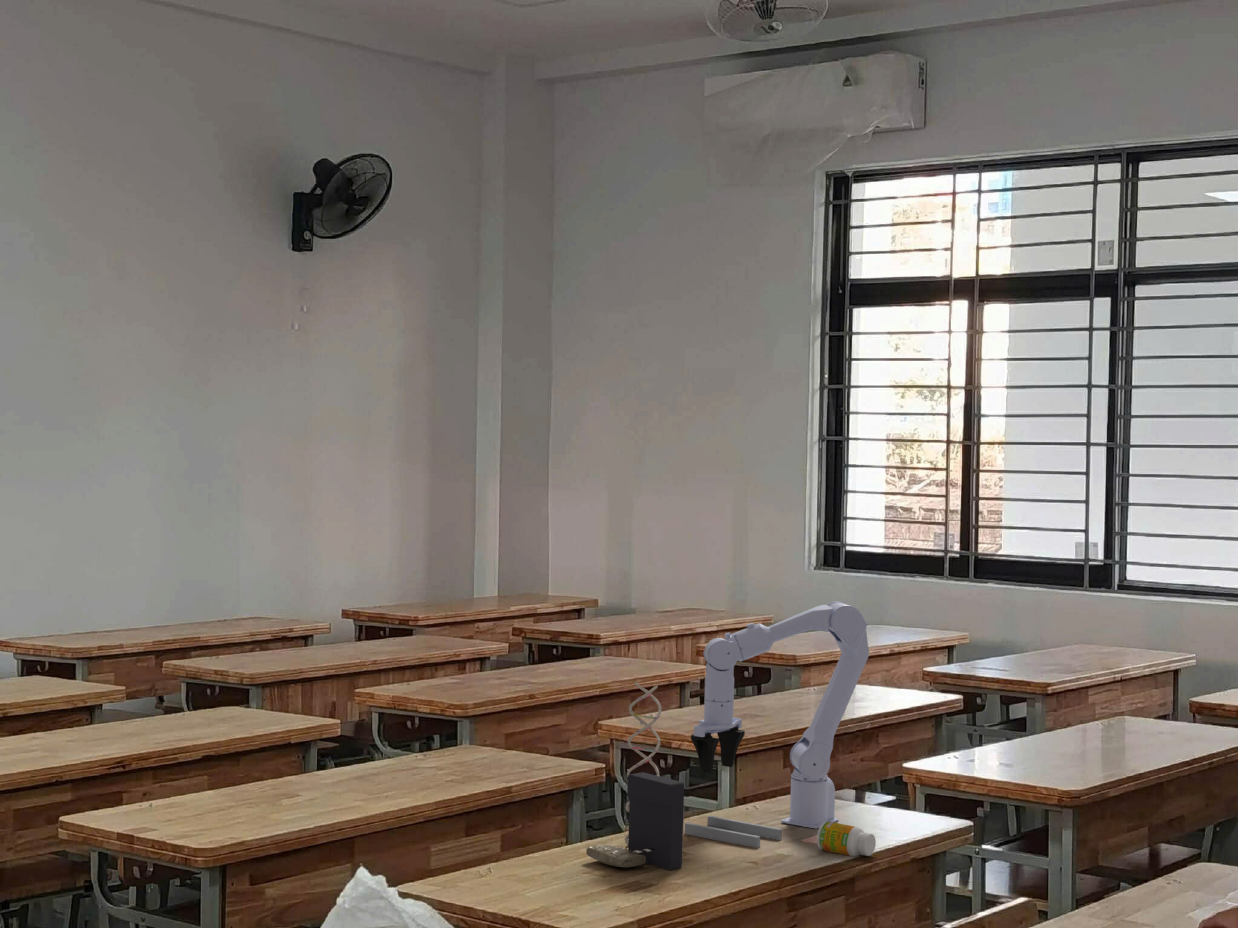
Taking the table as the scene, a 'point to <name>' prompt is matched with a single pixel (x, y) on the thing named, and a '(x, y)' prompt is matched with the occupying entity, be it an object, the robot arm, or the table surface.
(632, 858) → the cuneiform tablet
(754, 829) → the channel
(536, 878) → the table surface
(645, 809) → the black upright block
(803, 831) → the table surface
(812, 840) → the tile
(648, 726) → the dna model
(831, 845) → the supplement bottle
